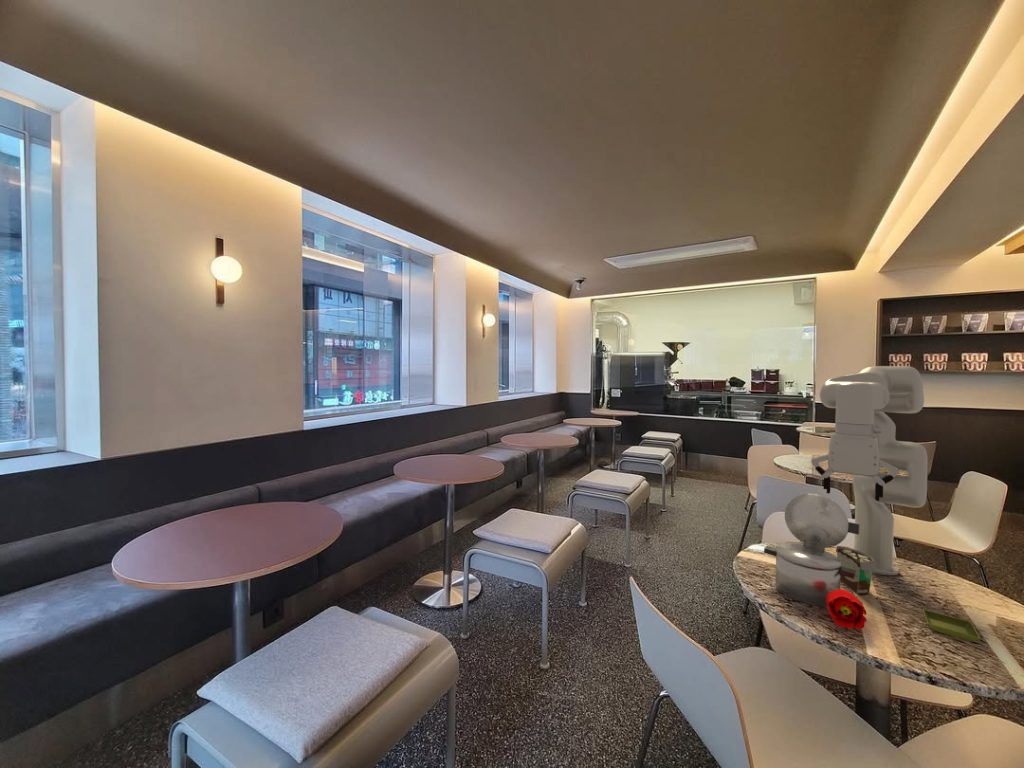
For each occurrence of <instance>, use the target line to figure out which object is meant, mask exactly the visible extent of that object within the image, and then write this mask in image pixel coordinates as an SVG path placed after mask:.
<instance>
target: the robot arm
mask: <svg viewBox="0 0 1024 768" xmlns="http://www.w3.org/2000/svg"><path fill="white" fill-rule="evenodd" d="M923 383H924V382H923V379H922V376H921V374H920V372H919V370H918V369H916V368H915V367H913V366H909V365H900V366H899V365H897V366H896V365H893V366H892V365H890V366H889V365H877V366H869V367H864V368H863V369H861V370H860V371H859V372H858V373H853V374H847V375H841V376H835V377H831V378H829V379H828V380H826V381H825V382H824V383H823V385H822V386H821V388H820V392H819V399H820V402H821V404H822V405H823V406H824V407H826V408H828V409H835V426H834V429H835V431H834V432H835V433H831V435H830V438H829V443H828V445H829V446H828V454H824V455H822V456H821V455H820V456H818V457H814V458H811V460H810V461H811V463H812V465H813V467H814V468H815V471H817V473H819V474H820V476H822V478H823V490H826V494H830V493H831V475H832V474H834V473H840V474H846V475H853V477H852V488H853V492H854V493H853V495H854V505H855V508H854V511H855V512H854V523H856V524H860V529H859V535H858V534H854V542H853V543H854V547H853V549H855V550H858V551H861V552H864V553H866V554H868V555H870V556H871V557H872V558H873V560H874V561H875V565H876V568H875V569H874V570H872V574H876V575H883V576H897V575H899V574H900V569H899V568H898V567H897V566H896V565H894V563H893V559H894V558H893V557H894V554H893V553H894V530H895V529H894V528H895V527H894V526H895V518H894V514H893V513H892V511H891V510H890V508H889V507H887V506H886V504H890V505H897V506H903V507H907V508H914V509H915V508H917V509H918V508H922V507H924V506H925V504H926V501H927V497H928V495H927V494H928V465H929V464H928V462H929V460H928V452H927V450H926V447H924V445H922V444H920V443H918V442H913V441H904V440H903V441H901V440H897V439H896V430H897V428H896V424H895V423H894V421H893V420H892V418H891V417H889V415H888V414H886V413H895V414H917V413H919V412H920V411H922V409H923V407H924V404H925V394H924V386H923ZM825 461H827V469H824V468H823V467H821V465H820V463H822V462H825ZM880 469H886V470H887V471H889V472H881V471H880ZM900 471H901V472H904V473H906V475H901V474H899V472H900Z"/></svg>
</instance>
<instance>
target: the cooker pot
mask: <svg viewBox="0 0 1024 768" xmlns="http://www.w3.org/2000/svg"><path fill="white" fill-rule="evenodd" d="M763 553H764V554H767V555H770V556H772V557H773V556H774V557H775V576H774V578H775V580H774V585H775V588H776V587H777V588H776V589H777V590H778V591H779V592H780V593H782V594H783V595H785V596H786V597H789V598H791V599H793V600H796V601H797V602H800V603H805V604H806V605H812V606H817V607H826V608H827V603H826V595H827V594H828V593H829V592H831V591H834V590H838V589H841V582H840V578H841V575H842V576H846V577H849V578H852V579H854V577H855V574H856V570H853V569H849V568H846V567H842V561H841V560H840V559H839V558H838V557H837V555H835V554H833V553H831V552H829V551H827V550H825V551H824V550H821V549H818V548H814V547H810V546H806V545H803V544H798V543H780V544H777V545H775V547H773V546H771V545H770V546H769V545H766V546H765V547H764V548H763Z"/></svg>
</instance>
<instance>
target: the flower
mask: <svg viewBox="0 0 1024 768" xmlns="http://www.w3.org/2000/svg"><path fill="white" fill-rule="evenodd" d="M826 603H827V607H826V609H827V611H828V613H829V614H828V615H829V616H830V617H831V618H832V621H833V623H834V624H835V626H838V627H841V628H846V629H848V630H852V629H854V628H855V629H856V630H863V629H864V628H865V626H866V622H867V618H866V616H867V614H868V613H867V610H866V608H865V607H864V604H863V602H862V601H861V599H859V598H858V597H857V596H856V594H855V595H854V594H853V593H852V592H850V591H848V590H846V589H844V588H840V589H838V590H834V591H831V592H829V593H828V594H827V595H826Z"/></svg>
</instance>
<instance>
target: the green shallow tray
mask: <svg viewBox="0 0 1024 768" xmlns="http://www.w3.org/2000/svg"><path fill="white" fill-rule="evenodd" d="M921 610H922V612H923V615H924V618H925V621H926V623H927V625H928V626H929V628H930V629H931V630H933V632H937V633H941V634H945V635H948V636H953V637H954V638H955V637H956V638H958V639H962V640H965V641H970V642H975V641H978V640H980V639H981V637H980V635H979V633H978V632H977V631H978V630H976V628H975V625H974V624H973V623H972V622H971V621H969V620H966V619H962V618H958V617H954V616H950V615H946V614H942V613H939V612H936V611H932V610H928V609H921Z"/></svg>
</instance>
